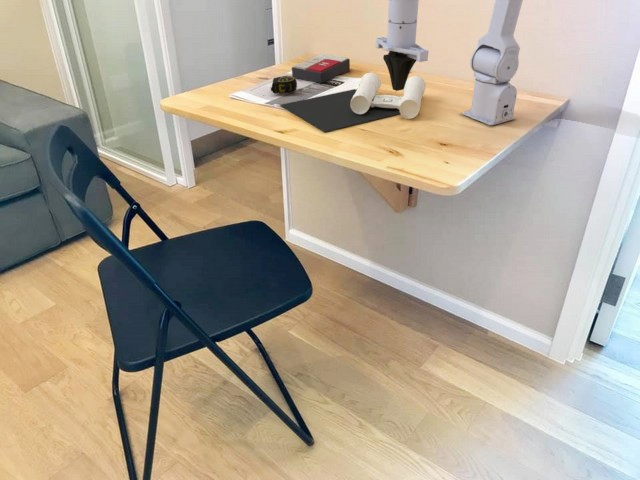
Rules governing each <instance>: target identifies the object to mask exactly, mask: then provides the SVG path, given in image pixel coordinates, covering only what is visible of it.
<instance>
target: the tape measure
mask: <svg viewBox="0 0 640 480" xmlns="http://www.w3.org/2000/svg"><path fill="white" fill-rule="evenodd" d="M297 88H298V83H297V78H294V77H292V75H282V76H276V77H273V79H272V83H271V86H270V91H271V92H272V93H273V94H291V93H294V92H295V91H296V90H297Z"/></svg>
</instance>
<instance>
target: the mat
mask: <svg viewBox="0 0 640 480" xmlns="http://www.w3.org/2000/svg"><path fill="white" fill-rule="evenodd" d="M356 91H357V89H355V88H353V89H350V90H344V91H340V92H335V93H334V92H333V93H329V94H326V95H320V96H315V97H310V98H306V99H301V100H296V101H292V102H286V103H283V104H280V105H279V106H280V107H282V108H283V109H285V110H287V111H288V112H290V113H291V114H292V115H295V116H297V117H298V118H300V119H301V120H303V121H305V122H306V123H308V124H309V125H311V126H313V127H314V128H316V129H318V130H320V131H321V132H323V133H329V132H334V131H337V130H341V129H346V128H349V127H350V128H351V127H355V126H357V125H362V124H366V123H370V122H374V121H379V120H382V119H386V118H391V117H394V116H398V115H399V116H400V115H401V114H400V110H399V109H398V108H383V107H376V106H374V107H371V106H370V108H369V109H368V111H367V112H366V113H364V114H357V113H355V112H353V111H352V109H351V106H350V103H351V99H352V98H353V95H354V94H355V93H356ZM373 100H374V99H372V101H373Z"/></svg>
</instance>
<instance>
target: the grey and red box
mask: <svg viewBox="0 0 640 480" xmlns="http://www.w3.org/2000/svg"><path fill="white" fill-rule="evenodd" d="M350 70H351V60H350V58H348V57H344V56H339V55H333V54H325V53H319V54H317V55H314V56H311V57H309V58H307V59H304V61H301V62H298V63H296V64H294V65H293V66H292V67H291V76H292V77H294V78H295V79H296V80H303V81H308V82H312V83H314V82H315V83H318V84H323V83H325V82H327V81H329V80H331V79H333V78H334V77H337V76H339V75H341V74H342V75H344V74H346V73H348V72H349V71H350Z"/></svg>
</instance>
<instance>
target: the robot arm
mask: <svg viewBox="0 0 640 480" xmlns="http://www.w3.org/2000/svg"><path fill="white" fill-rule="evenodd" d="M419 2H420V0H388V8H387V9H388V11H387V12H388V13H387V30H386V31H387V34H386V36H385V37H384V36H381V37H376V38H375V48H376V49H382V50H383V51H386V52H388V53H387V54H384V55H383V62H384V63H385V65H386V67H387V70H388V74H389V78H390V83H391V89H392V90H393V91H396V92H398V91H402V90H403V91H404V87H405V84H406V81H407V79H408V78H409V75H410V73H411V71H412V69H413V67H414V65H415V64H416V62H418V63H422V62H428V61H429V50H427V49H425V48H423V47H422V46H421V45H419V44H417V43H416V39H417V27H418V16H419V15H418V14H419V13H418V11H419ZM522 5H523V0H495V2H494V6H493V10H492V14H491V18H490V22H489V26H488V30H487V33H485V34H484V35H482V36H481V37H479V39H478V40H477V44H476V47H475V49H474V51H473V53H472V54H471V56H470V61H469V62H470V63H469V64H470V68H471V70H472V71H473V77H474V85H473V92H472V99H471V105H470V110H465V111H463V112H462V115H463V116H466V117H467V118H471V119H473V120H475V121H478V122H481V123H483V124H485V125H488V126H495V125H498V124H499V125H500V124H502V123H507V122H509V121H513V120H515V116H514V112H515V105H516V101H517V94H518V92H517V88H516V86H515V85H512V84H511V83H510V82H511V79H513V77H514V76H515V75H516V73H517V71H518V69H519V64H520V63H519V54H520V50H521V47H520V45H519V44H518V41H517V40H516V38H515V37H514V34H515V31H516V27H517V24H518V19H519V16H520V12H521V9H522Z"/></svg>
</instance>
